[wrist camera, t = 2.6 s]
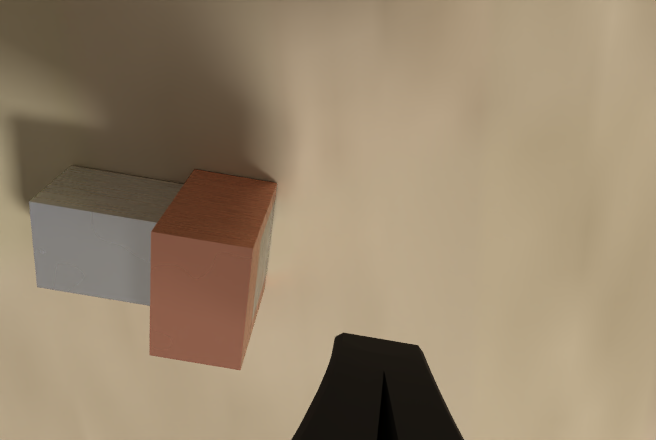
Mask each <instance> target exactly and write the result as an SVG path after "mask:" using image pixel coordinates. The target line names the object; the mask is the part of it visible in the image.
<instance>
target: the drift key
mask: <svg viewBox="0 0 656 440" xmlns="http://www.w3.org/2000/svg"><path fill="white" fill-rule="evenodd" d="M276 188H277V183H274V182H268V181H262V180H256V179H250V178H244V177H238V176H232V175H226V174H220V173H214V172H208V171H202V170H196V169H194V171H193V172H192V173H191V175H190V176H189V178H188V179H187V181H186V182H185V183H184V184H179V183H173V182H167V181H161V180H155V179H149V178H143V177H137V176H131V175H125V174H119V173H113V172H107V171H101V170H95V169H89V168H83V167H77V166H70V167H69V168H68V169H67V170H65V171H64V172H63V173H62V174H61V175H60V176H58V177H57V178H56V179H55V180H54V181H52V182H51V183H50V184H49V185H48V186H47V187H45V188H44V189H43V190H42V191H41V192H40V193H38V194H37V195H36V196H35V197H34V198H32V199H31V200H30V201H29V207H30V217H31V228H32V238H33V248H34V259H35V269H36V280H37V287H40V288H46V289H52V290H58V291H64V292H70V293H76V294H82V295H88V296H94V297H100V298H106V299H112V300H118V301H124V302H130V303H136V304H142V305H148V306H150V355H152V356H158V357H164V358H170V359H176V360H182V361H188V362H194V363H200V364H206V365H212V366H218V367H224V368H230V369H236V370H241V366H242V363H243V360H244V356H245V353H246V350H247V346H248V343H249V340H250V336H251V333H252V329H253V326H254V323H255V319H256V316H257V313H258V309H259V306H260V303H261V299H262V296H263V292H264V288H265V280H266V272H267V263H268V255H269V247H270V238H271V230H272V221H273V213H274V205H275V196H276Z"/></svg>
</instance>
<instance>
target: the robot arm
mask: <svg viewBox="0 0 656 440" xmlns="http://www.w3.org/2000/svg"><path fill="white" fill-rule="evenodd" d="M292 440H464V439H463V437H462V435H461V433H460V431H459V429H458V428H457V426H456V424H455V422H454V420H453V418H452V416H451V414H450V412H449V410H448V407H447V405H446V403H445V401H444V399H443V397H442V395H441V393H440V391H439V389H438V386H437V384H436V382H435V380H434V377H433V375H432V373H431V371H430V368H429V366H428V363H427V361H426V359H425V356H424V354H423V352H422V350H421V349H420V348H419V346H418V345H413V344H407V343H401V342H395V341H389V340H383V339H377V338H372V337H366V336H360V335H354V334H348V333H342V334H340V335H338V336H336V337H335V340H334V345H333V351H332V356H331V359H330V362H329V365H328V368H327V370H326V373H325V375H324V377H323V380H322V382H321V384H320V387H319V389H318V391H317V393H316V395H315V397H314V399H313V401H312V403H311V405H310V407H309V409H308V411H307V413H306V415H305V417H304V418H303V420H302V422H301V424H300V426H299V428H298V430H297V431H296V433H295V435H294V436H293V438H292Z"/></svg>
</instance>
